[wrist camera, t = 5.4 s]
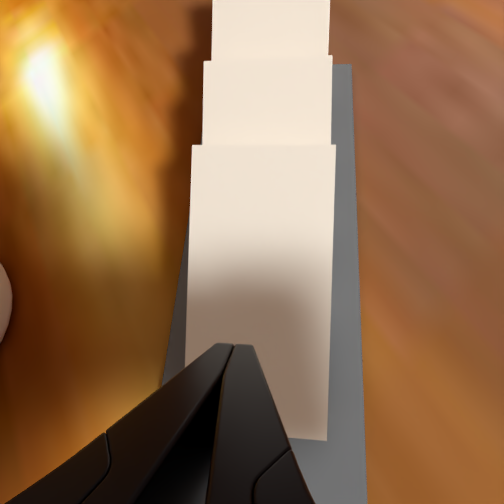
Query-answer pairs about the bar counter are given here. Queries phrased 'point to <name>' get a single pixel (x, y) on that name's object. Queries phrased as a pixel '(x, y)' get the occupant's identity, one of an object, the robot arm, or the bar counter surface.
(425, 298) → the bar counter surface
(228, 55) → the domino
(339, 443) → the runner mat
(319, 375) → the domino
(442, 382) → the bar counter surface
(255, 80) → the domino
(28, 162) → the bar counter surface
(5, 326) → the milk bottle
